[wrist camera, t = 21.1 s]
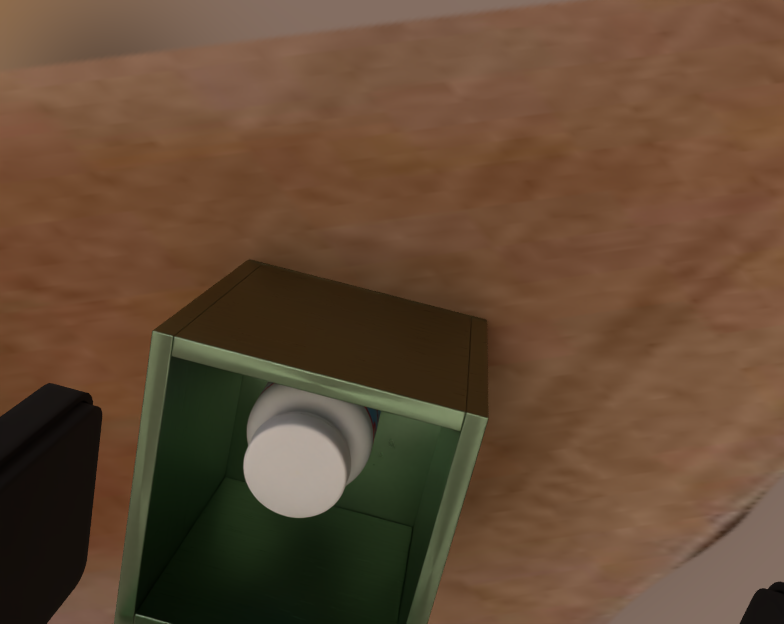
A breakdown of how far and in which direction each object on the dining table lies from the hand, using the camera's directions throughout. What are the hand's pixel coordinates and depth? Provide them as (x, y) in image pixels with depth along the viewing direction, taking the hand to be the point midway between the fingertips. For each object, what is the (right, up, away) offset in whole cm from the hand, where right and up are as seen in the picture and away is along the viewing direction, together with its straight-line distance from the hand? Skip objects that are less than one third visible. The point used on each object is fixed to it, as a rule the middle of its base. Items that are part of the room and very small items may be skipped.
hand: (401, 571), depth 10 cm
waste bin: (-3, -2, +34) cm, 34 cm away
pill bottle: (-3, 0, +33) cm, 33 cm away
